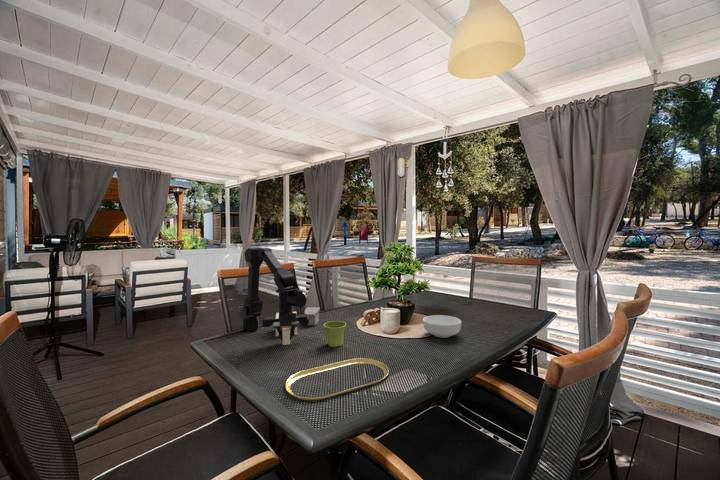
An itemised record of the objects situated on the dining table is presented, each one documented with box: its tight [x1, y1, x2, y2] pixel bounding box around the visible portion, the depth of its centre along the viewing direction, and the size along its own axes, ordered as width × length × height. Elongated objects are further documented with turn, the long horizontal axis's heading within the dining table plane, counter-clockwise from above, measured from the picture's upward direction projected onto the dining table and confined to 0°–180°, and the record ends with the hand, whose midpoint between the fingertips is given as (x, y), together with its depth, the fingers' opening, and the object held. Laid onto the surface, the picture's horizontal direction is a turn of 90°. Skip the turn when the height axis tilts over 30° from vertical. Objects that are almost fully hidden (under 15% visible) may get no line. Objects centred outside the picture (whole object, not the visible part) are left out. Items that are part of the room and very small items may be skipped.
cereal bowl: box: [422, 314, 462, 339], centre depth 144 cm, size 17×17×7 cm
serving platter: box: [284, 357, 390, 401], centre depth 103 cm, size 19×35×2 cm, turn 120°
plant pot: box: [323, 320, 347, 348], centre depth 132 cm, size 9×9×9 cm
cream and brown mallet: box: [282, 326, 291, 346], centre depth 141 cm, size 5×18×6 cm, turn 12°
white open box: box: [275, 311, 298, 337], centre depth 149 cm, size 9×10×8 cm
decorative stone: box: [304, 306, 321, 327], centre depth 163 cm, size 15×7×10 cm
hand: (286, 340), depth 134 cm, fingers closed on cream and brown mallet, 3 cm apart
